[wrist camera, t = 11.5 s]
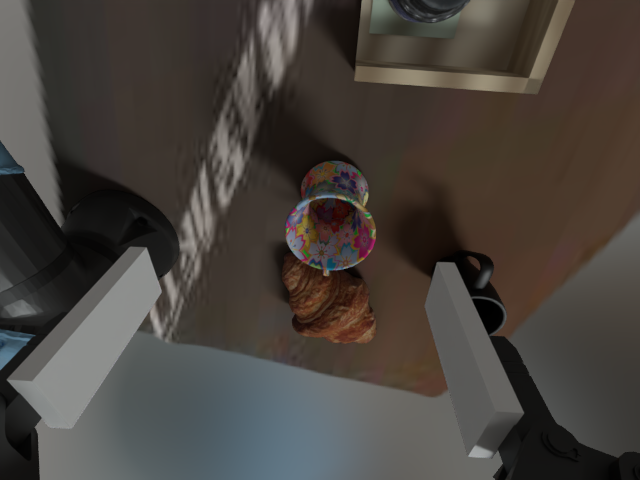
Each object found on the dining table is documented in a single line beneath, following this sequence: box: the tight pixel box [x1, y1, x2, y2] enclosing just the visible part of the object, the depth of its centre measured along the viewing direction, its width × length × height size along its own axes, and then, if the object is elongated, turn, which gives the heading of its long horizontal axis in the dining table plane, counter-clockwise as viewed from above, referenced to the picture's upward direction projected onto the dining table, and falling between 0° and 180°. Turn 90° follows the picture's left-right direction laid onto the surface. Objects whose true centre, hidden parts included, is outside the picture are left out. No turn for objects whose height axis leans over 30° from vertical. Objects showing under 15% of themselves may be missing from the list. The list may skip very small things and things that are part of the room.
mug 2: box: [430, 250, 507, 336], centre depth 42 cm, size 8×12×10 cm
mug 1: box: [285, 161, 376, 276], centre depth 38 cm, size 12×9×11 cm
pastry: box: [282, 252, 376, 343], centre depth 49 cm, size 17×15×8 cm
